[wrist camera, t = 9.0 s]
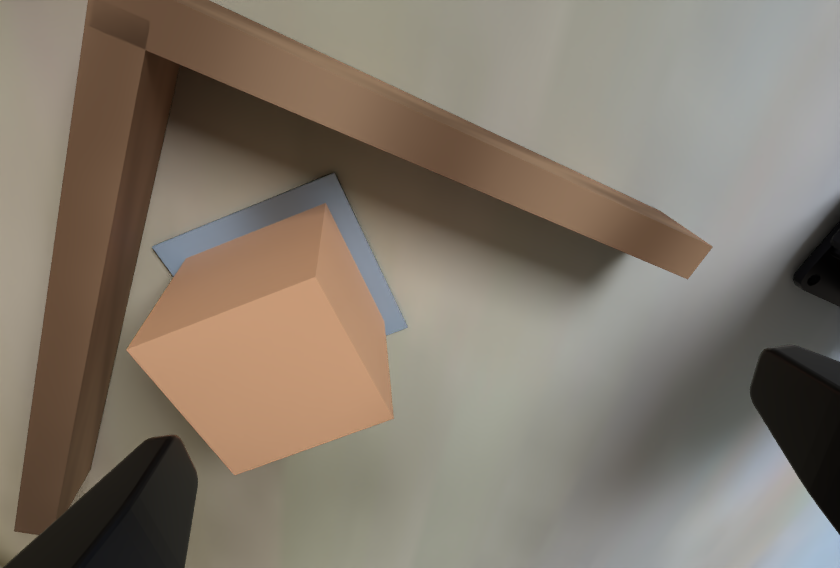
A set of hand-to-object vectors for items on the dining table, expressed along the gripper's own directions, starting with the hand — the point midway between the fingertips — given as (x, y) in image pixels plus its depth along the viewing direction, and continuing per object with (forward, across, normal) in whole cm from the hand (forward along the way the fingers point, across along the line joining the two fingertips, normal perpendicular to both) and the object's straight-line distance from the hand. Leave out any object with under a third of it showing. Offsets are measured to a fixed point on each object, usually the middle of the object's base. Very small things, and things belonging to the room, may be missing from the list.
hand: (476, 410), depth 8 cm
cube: (+10, +5, +3) cm, 11 cm away
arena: (+10, +3, +5) cm, 12 cm away
